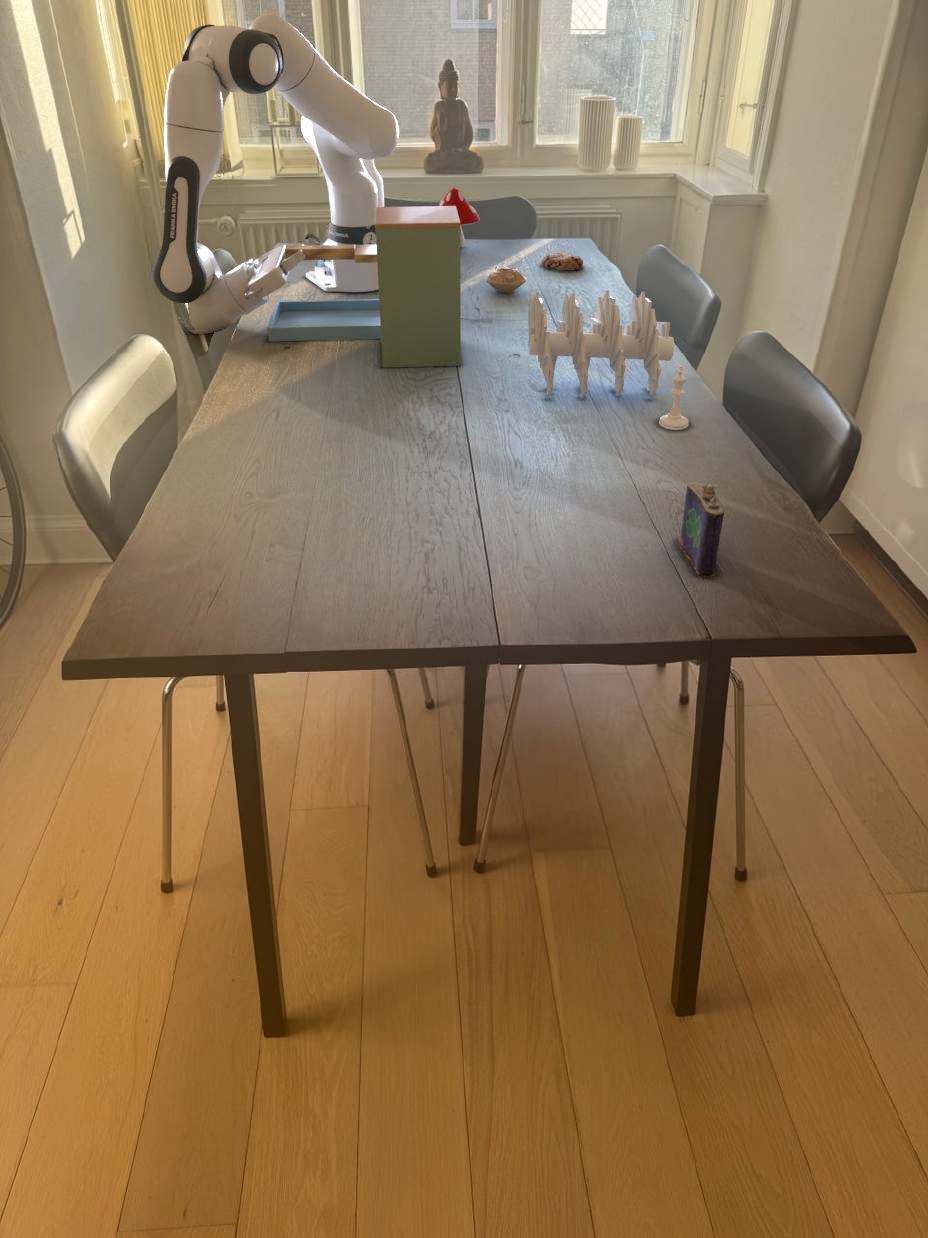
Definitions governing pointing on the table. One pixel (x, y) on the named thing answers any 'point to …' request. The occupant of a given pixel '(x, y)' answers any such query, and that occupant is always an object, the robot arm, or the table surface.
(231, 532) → the table surface
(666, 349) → the spiral staircase
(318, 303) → the tray
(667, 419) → the chess piece
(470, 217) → the decorative mushroom
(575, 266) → the cookie
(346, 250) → the paddle
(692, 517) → the flask
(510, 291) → the pottery oil lamp
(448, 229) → the plinth
